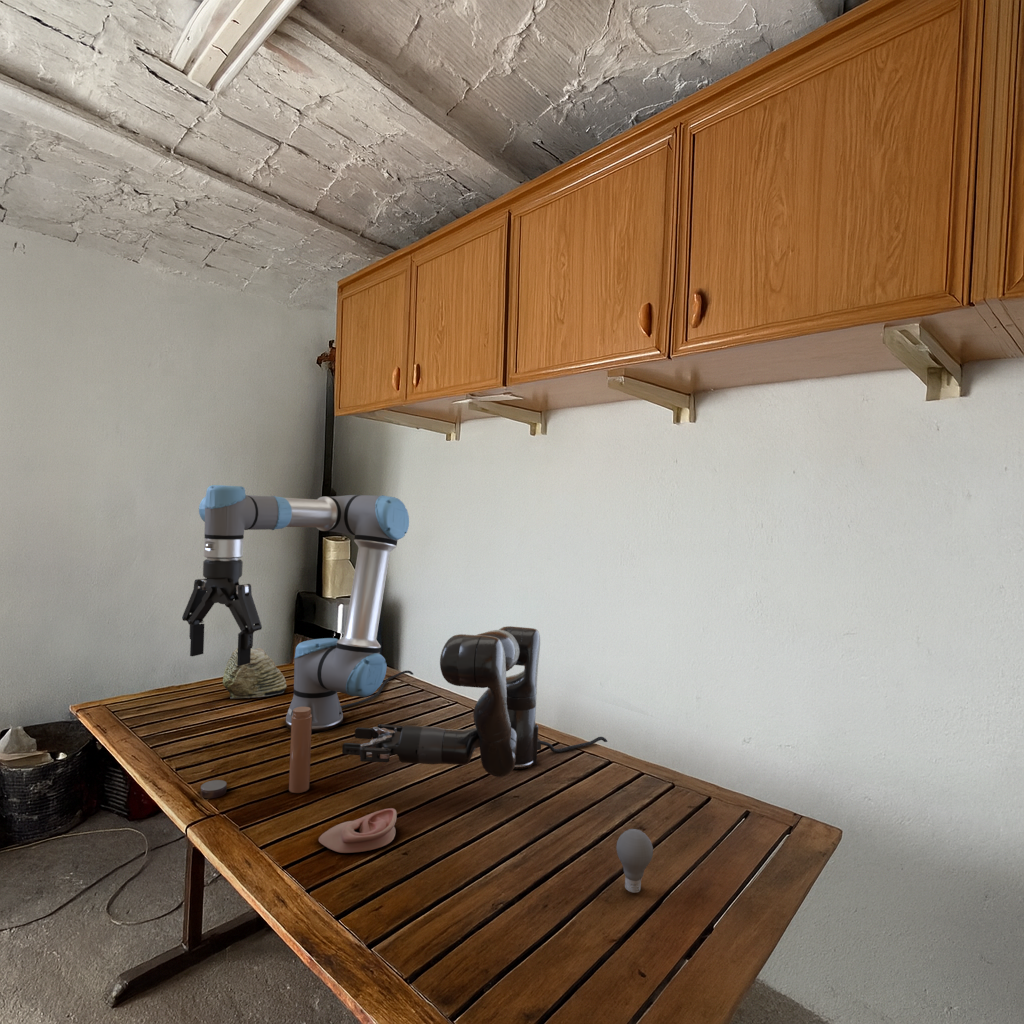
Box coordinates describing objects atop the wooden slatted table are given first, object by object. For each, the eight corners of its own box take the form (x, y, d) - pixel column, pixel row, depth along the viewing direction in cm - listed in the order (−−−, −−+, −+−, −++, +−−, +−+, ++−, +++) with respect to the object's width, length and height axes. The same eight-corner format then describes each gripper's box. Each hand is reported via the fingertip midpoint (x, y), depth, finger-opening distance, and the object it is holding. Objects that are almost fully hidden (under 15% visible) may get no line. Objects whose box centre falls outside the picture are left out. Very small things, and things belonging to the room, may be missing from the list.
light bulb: (610, 879, 108) (613, 822, 108) (644, 879, 109) (647, 822, 109) (619, 902, 102) (622, 840, 102) (655, 901, 103) (658, 840, 103)
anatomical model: (310, 826, 114) (340, 797, 125) (309, 848, 114) (339, 817, 125) (379, 837, 111) (403, 806, 122) (378, 859, 111) (403, 827, 123)
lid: (207, 787, 136) (208, 779, 136) (230, 788, 136) (230, 780, 136) (195, 797, 131) (196, 789, 131) (219, 799, 131) (219, 791, 131)
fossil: (218, 695, 195) (220, 647, 195) (278, 685, 208) (279, 640, 207) (228, 703, 189) (230, 653, 188) (289, 692, 201) (290, 645, 201)
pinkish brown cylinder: (299, 782, 140) (302, 704, 140) (313, 787, 138) (316, 708, 138) (284, 789, 136) (287, 709, 136) (298, 794, 134) (301, 713, 134)
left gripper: (165, 555, 134) (162, 654, 135) (253, 564, 124) (250, 672, 125) (196, 553, 141) (193, 647, 142) (282, 562, 131) (278, 664, 132)
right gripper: (430, 715, 143) (359, 711, 144) (417, 740, 129) (338, 736, 129) (429, 748, 143) (358, 744, 144) (416, 777, 129) (337, 772, 130)
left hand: (219, 659), depth 133 cm, fingers open, 13 cm apart
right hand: (349, 740), depth 137 cm, fingers open, 8 cm apart
